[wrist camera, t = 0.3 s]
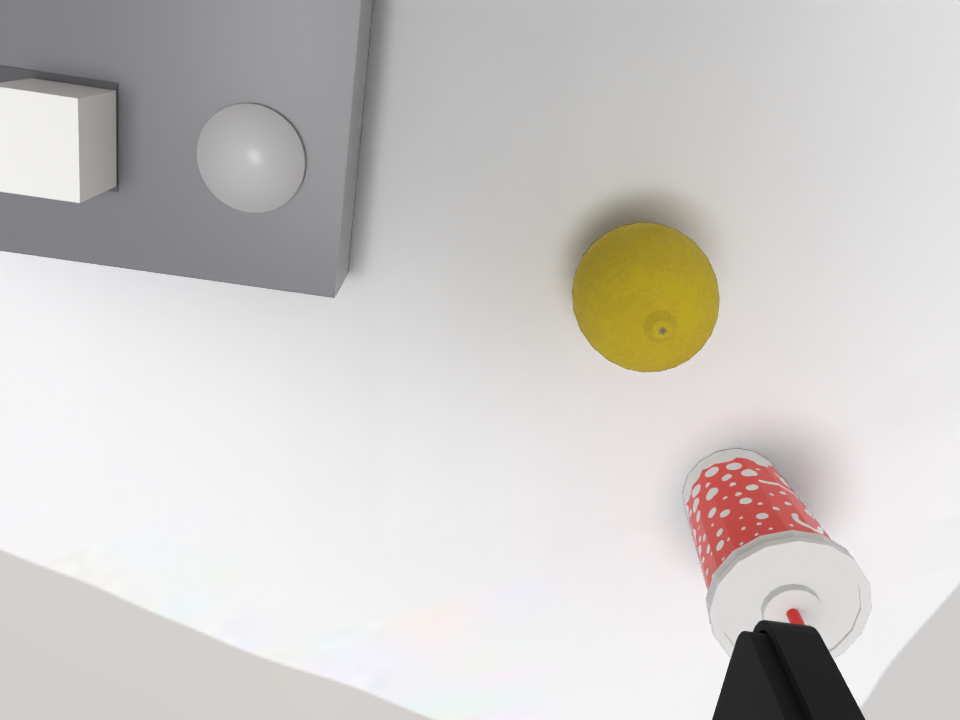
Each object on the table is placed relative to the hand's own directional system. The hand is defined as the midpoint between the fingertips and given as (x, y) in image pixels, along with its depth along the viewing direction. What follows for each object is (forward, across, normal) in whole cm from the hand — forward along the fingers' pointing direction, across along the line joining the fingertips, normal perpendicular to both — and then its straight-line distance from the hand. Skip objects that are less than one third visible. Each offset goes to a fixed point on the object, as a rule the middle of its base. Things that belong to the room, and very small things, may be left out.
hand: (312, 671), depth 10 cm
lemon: (+30, -8, +2) cm, 31 cm away
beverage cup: (+30, -15, +12) cm, 35 cm away
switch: (+26, +14, -1) cm, 29 cm away
